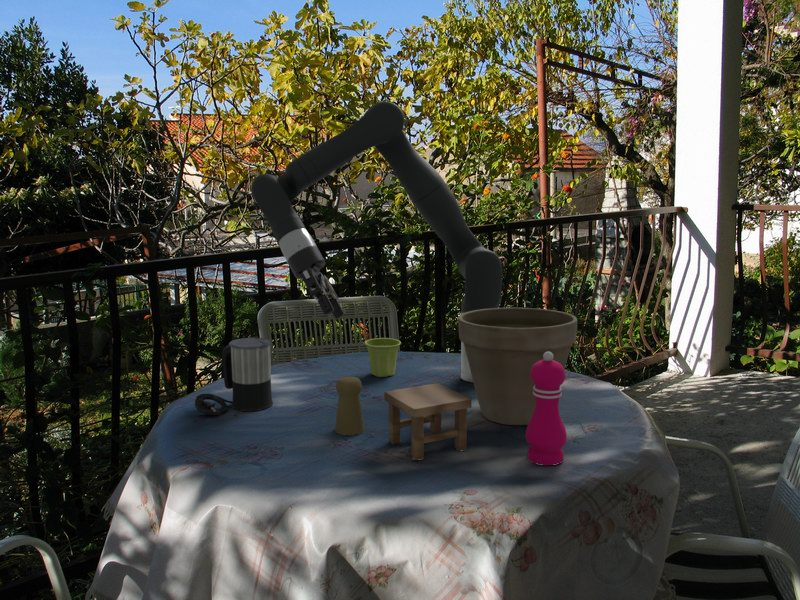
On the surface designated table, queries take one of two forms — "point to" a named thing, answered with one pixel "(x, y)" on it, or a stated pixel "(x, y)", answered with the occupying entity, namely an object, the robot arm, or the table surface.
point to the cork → (349, 407)
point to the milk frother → (243, 377)
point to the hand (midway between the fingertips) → (335, 315)
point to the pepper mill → (546, 413)
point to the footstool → (427, 415)
